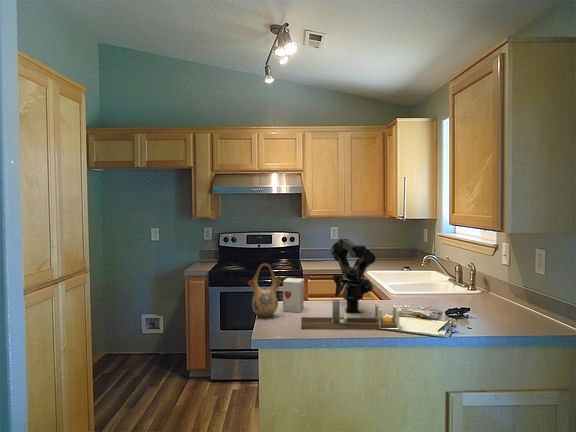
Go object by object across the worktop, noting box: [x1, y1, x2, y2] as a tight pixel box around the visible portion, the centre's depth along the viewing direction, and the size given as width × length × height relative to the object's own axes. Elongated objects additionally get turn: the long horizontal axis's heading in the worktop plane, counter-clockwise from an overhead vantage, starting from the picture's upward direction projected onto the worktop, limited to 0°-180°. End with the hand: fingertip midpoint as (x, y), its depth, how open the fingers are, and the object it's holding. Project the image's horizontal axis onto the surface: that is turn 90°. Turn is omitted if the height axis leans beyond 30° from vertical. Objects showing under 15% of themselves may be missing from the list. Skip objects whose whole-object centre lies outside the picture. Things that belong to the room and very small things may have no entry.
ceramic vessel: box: [246, 262, 283, 318], centre depth 180 cm, size 16×9×25 cm, turn 95°
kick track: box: [300, 303, 401, 331], centre depth 166 cm, size 8×41×8 cm, turn 88°
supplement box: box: [282, 277, 305, 313], centre depth 191 cm, size 9×9×15 cm
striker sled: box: [332, 299, 348, 323], centre depth 166 cm, size 6×6×11 cm
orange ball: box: [382, 315, 393, 323], centre depth 165 cm, size 4×4×4 cm
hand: (344, 298), depth 169 cm, fingers open, 9 cm apart
